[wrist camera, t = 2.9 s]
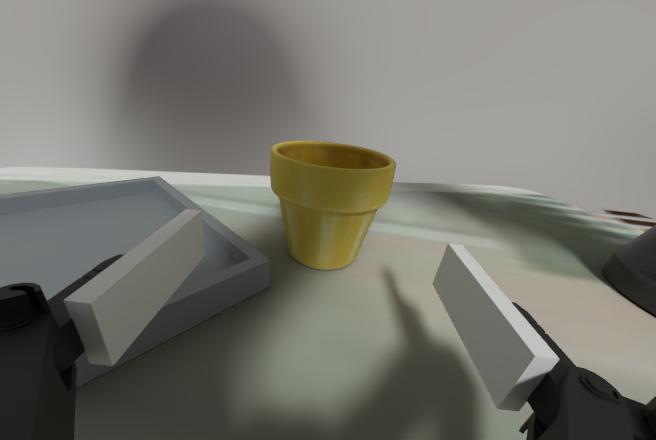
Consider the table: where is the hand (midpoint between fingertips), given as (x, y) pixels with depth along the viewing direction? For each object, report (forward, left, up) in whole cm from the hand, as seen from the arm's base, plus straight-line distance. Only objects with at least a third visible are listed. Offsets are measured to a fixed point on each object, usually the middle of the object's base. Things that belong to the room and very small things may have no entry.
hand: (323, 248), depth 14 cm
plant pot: (+6, -8, -7) cm, 12 cm away
